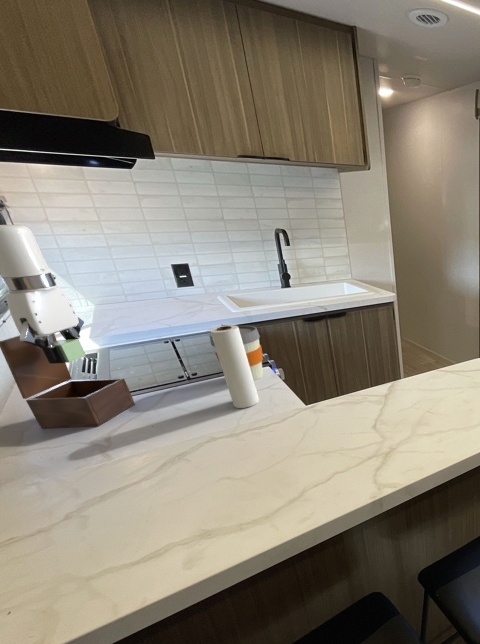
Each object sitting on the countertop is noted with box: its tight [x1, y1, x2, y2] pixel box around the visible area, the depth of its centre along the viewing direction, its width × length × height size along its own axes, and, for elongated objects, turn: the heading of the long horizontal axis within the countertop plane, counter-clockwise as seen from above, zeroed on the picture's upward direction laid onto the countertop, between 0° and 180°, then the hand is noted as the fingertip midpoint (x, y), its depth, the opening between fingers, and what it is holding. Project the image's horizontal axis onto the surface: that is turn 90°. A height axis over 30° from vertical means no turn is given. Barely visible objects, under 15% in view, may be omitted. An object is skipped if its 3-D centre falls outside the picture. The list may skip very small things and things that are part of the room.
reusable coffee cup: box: [208, 325, 264, 382], centre depth 122 cm, size 13×12×15 cm
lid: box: [0, 333, 73, 400], centre depth 97 cm, size 14×12×1 cm
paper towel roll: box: [209, 324, 260, 409], centre depth 105 cm, size 7×6×21 cm
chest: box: [25, 378, 136, 429], centre depth 102 cm, size 14×12×8 cm
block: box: [54, 339, 87, 364], centre depth 97 cm, size 4×4×4 cm
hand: (67, 358), depth 97 cm, fingers closed on block, 4 cm apart
